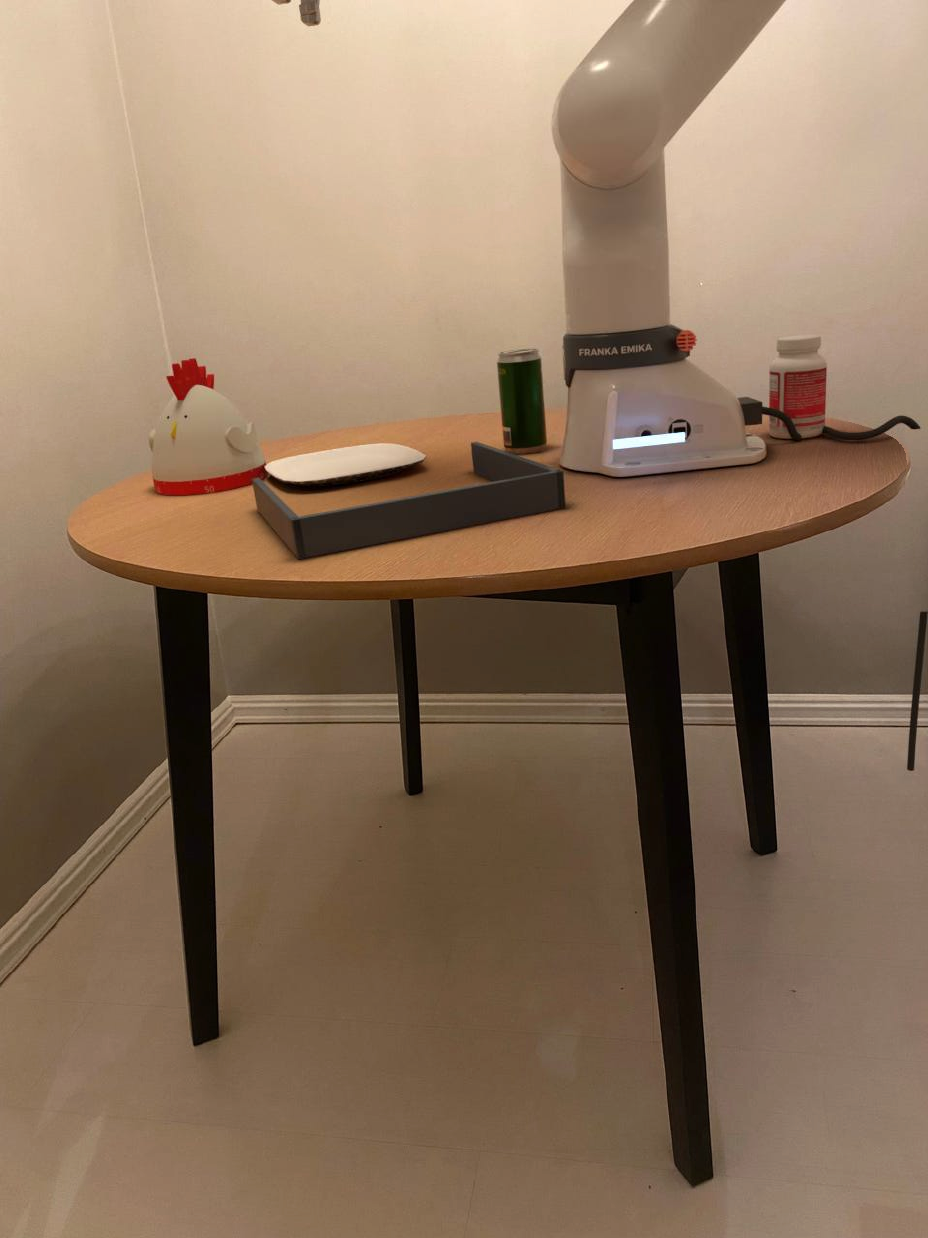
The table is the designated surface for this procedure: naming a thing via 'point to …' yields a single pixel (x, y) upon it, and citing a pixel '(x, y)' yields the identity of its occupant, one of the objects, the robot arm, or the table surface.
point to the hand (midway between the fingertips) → (297, 13)
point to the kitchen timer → (202, 439)
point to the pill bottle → (798, 386)
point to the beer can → (522, 401)
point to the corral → (421, 507)
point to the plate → (344, 464)
